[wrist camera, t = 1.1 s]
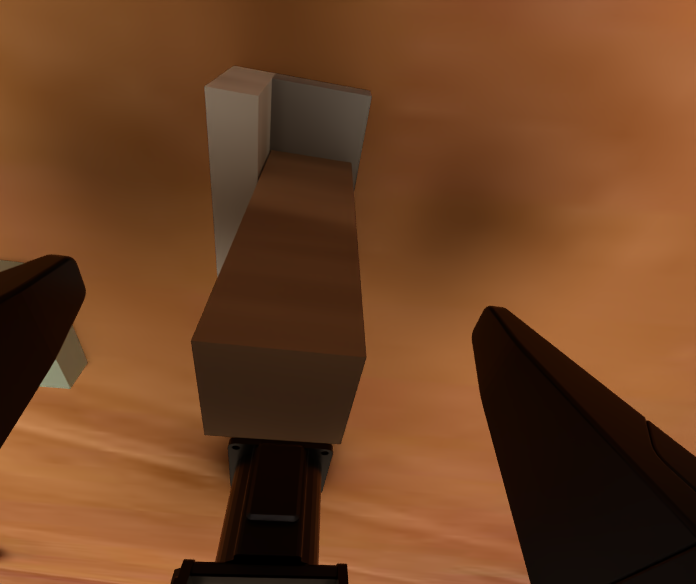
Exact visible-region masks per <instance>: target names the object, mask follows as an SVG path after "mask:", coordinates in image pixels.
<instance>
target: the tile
mask: <svg viewBox="0 0 696 584" xmlns="http://www.w3.org/2000/svg"><path fill="white" fill-rule="evenodd" d="M21 264H23V263H22V262H13V261H5V260H0V272H1V271H4V270H7V269H9V268H12V267H15V266H18V265H21ZM87 363H88V362H87V359H86V357H85V355H84V352H83V350H82V347H81V345H80V342H79V340H78V338H77V335H76V333H75V330H74V328H73V325H72V327H71V329H70V331H69V333H68V335H67V337H66V339H65V341H64V344H63V346H62V348H61V350H60V352H59V354H58V356H57V358H56V360H55V361H54V363H53V365H52V366H51V368H50V370H49V372H48V373H47V375H46V376H45V378H44V380H43V381H42V383H41V384H40V386H41V387H54V388H67V389H71V387H72V386H73V384H74V383H75V381H76V380H77V378H78V377H79V375H80V374H81V372H82V371H83V369H84V368H85V366H86V365H87Z"/></svg>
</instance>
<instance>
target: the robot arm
mask: <svg viewBox="0 0 696 584" xmlns="http://www.w3.org/2000/svg"><path fill="white" fill-rule="evenodd" d="M85 294H86V289H85V285H84V282H83V280H82V277H81V274H80V271H79V268H78V265H77V263H76V261H75V260H74V259H73V258H71V257H69V256H61V255H46V256H43V257H40V258H37V259H34V260H32V261H29V262H26V263H23V264H21V265H18V266H15V267H12V268H9V269H7V270H4V271H1V272H0V448H1V447H2V445H3V443H4V442H5V440H6V439H7V437H8V435H9V434H10V432H11V431H12V429H13V427H14V426H15V424H16V423H17V421H18V419H19V418H20V416H21V415H22V413H23V411H24V410H25V408H26V407H27V405H28V403H29V402H30V400H31V399H32V397H33V395H34V394H35V392H36V391H37V389H38V388H39V386H40V384H41V383H42V381H43V380H44V378H45V376H46V375H47V373H48V372H49V370H50V368H51V366H52V365H53V363H54V361H55V360H56V358H57V356H58V354H59V352H60V350H61V348H62V346H63V344H64V341H65V339H66V337H67V335H68V333H69V331H70V329H71V327H72V324H73V322H74V320H75V318H76V316H77V314H78V312H79V310H80V308H81V305H82V303H83V301H84V299H85ZM472 344H473V351H474V357H475V364H476V371H477V377H478V384H479V390H480V396H481V400H482V404H483V408H484V412H485V416H486V419H487V423H488V427H489V430H490V434H491V438H492V442H493V445H494V449H495V453H496V457H497V460H498V464H499V468H500V471H501V475H502V479H503V483H504V486H505V490H506V494H507V498H508V501H509V505H510V509H511V512H512V516H513V520H514V524H515V527H516V531H517V535H518V539H519V542H520V546H521V550H522V553H523V557H524V561H525V565H526V568H527V572H528V576H529V580H530V583H531V584H696V457H695V456H694V455H693V454H691V453H690V452H689V451H687V450H686V449H685V448H684V447H682V446H681V445H680V444H678V443H677V442H676V441H674V440H673V439H672V438H670V437H669V436H668V435H667V434H665V433H664V432H663V431H662V430H660V429H659V428H658V427H656V426H655V425H654V424H653V423H651V422H650V421H646V419H645V417H644V416H642V415H641V414H640V413H639V412H637V411H636V410H635V409H633V408H632V407H631V406H630V405H628V404H627V403H626V402H625V401H623V400H622V399H621V398H619V397H618V396H617V395H616V394H614V393H613V392H612V391H611V390H609V389H608V388H607V387H605V386H604V385H603V384H602V383H600V382H599V381H598V380H597V379H595V378H594V377H593V376H591V375H590V374H589V373H588V372H586V371H585V370H584V369H583V368H581V367H580V366H579V365H577V364H576V363H575V362H574V361H572V360H571V359H570V358H568V357H567V356H566V355H565V354H563V353H562V352H561V351H560V350H558V349H557V348H556V347H554V346H553V345H552V344H551V343H549V342H548V341H547V340H546V339H544V338H543V337H542V336H541V335H539V334H538V333H537V332H535V331H534V330H533V329H532V328H530V327H529V326H528V325H527V324H525V323H524V322H523V321H521V320H520V319H519V318H518V317H516V316H515V315H514V314H513V313H511V312H510V311H509V310H507V309H506V308H503V307H496V306H488V307H486V308H485V309H484V311H483V312H482V314H481V316H480V318H479V320H478V322H477V324H476V326H475V328H474V330H473V333H472ZM332 455H333V446H332V445H331V444H328V443H315V442H300V441H285V440H270V439H255V438H240V437H234V438H231V439H230V440H229V444H228V457H229V470H230V484H231V491H230V496H229V500H228V505H227V509H226V514H225V519H224V523H223V528H222V533H221V537H220V542H219V547H218V551H217V556H216V560H215V562H195V560H192V559H184V560H183V563H182V566H181V568H179V569H175V570H174V573H173V577H172V580H171V584H348V571H347V564H337V565H318V559H319V530H320V501H321V492H322V491H323V487H324V484H325V480H326V476H327V473H328V469H329V466H330V462H331V458H332Z"/></svg>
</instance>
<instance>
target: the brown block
mask: <svg viewBox="0 0 696 584" xmlns="http://www.w3.org/2000/svg"><path fill="white" fill-rule="evenodd" d="M204 88H205V102H206V117H207V132H208V146H209V161H210V175H211V190H212V205H213V219H214V234H215V248H216V263H217V280H216V283H215V285H214V287H213V290H212V292H211V294H210V297H209V299H208V302H207V304H206V306H205V309H204V311H203V313H202V316H201V318H200V321H199V323H198V325H197V328H196V330H195V332H194V335H193V337H192V340H191V344H192V351H193V358H194V365H195V372H196V379H197V386H198V393H199V400H200V407H201V414H202V421H203V428H204V435H210V436H225V437H240V438H255V439H270V440H285V441H300V442H315V443H330V444H341V441H342V438H343V435H344V431H345V428H346V424H347V421H348V418H349V414H350V411H351V408H352V404H353V401H354V397H355V394H356V391H357V387H358V384H359V381H360V377H361V374H362V371H363V367H364V364H365V360H366V346H365V333H364V320H363V307H362V294H361V281H360V268H359V255H358V242H357V229H356V216H355V203H354V189H355V184H356V178H357V173H358V168H359V162H360V157H361V152H362V146H363V141H364V135H365V130H366V125H367V119H368V114H369V109H370V103H371V98H372V96H371V92H370V91H369V90H364V89H358V88H353V87H347V86H342V85H337V84H331V83H326V82H320V81H315V80H309V79H304V78H298V77H293V76H288V75H282V74H277V73H271V72H266V71H260V70H255V69H249V68H244V67H239V66H232V67H231V68H230V69H228V70H227V71H225V72H224V73H222V74H221V75H220V76H218V77H217V78H215V79H214V80H213V81H211V82H210V83H208V84H207V85H206V86H204Z"/></svg>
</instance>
